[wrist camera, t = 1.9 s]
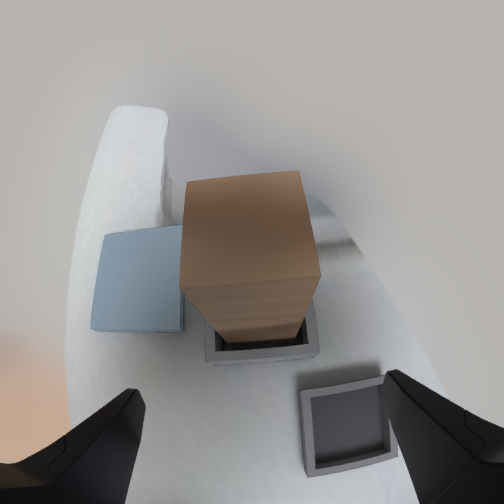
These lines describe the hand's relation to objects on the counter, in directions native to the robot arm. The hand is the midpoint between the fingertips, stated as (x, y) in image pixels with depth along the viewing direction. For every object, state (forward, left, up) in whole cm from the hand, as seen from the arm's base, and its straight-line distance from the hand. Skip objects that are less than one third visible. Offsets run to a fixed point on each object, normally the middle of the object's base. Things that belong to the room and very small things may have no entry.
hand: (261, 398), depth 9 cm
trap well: (-4, -6, -12) cm, 14 cm away
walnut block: (+6, 0, -12) cm, 14 cm away
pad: (+10, +11, -12) cm, 20 cm away
